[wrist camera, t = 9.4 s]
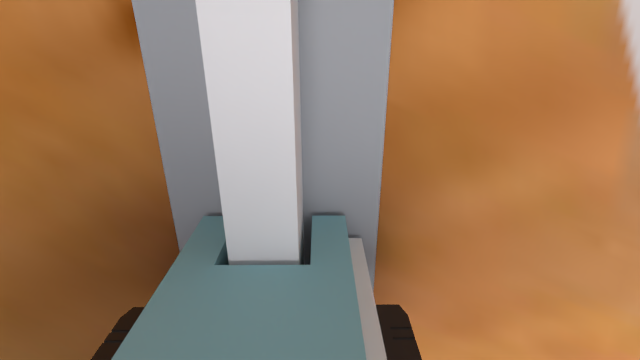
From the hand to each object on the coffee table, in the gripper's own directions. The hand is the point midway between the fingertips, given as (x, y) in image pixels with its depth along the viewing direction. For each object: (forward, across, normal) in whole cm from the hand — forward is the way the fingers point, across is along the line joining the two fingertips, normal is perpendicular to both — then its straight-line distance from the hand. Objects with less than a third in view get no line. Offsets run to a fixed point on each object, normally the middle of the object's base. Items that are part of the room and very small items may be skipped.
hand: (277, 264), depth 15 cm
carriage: (0, 0, 0) cm, 0 cm away
